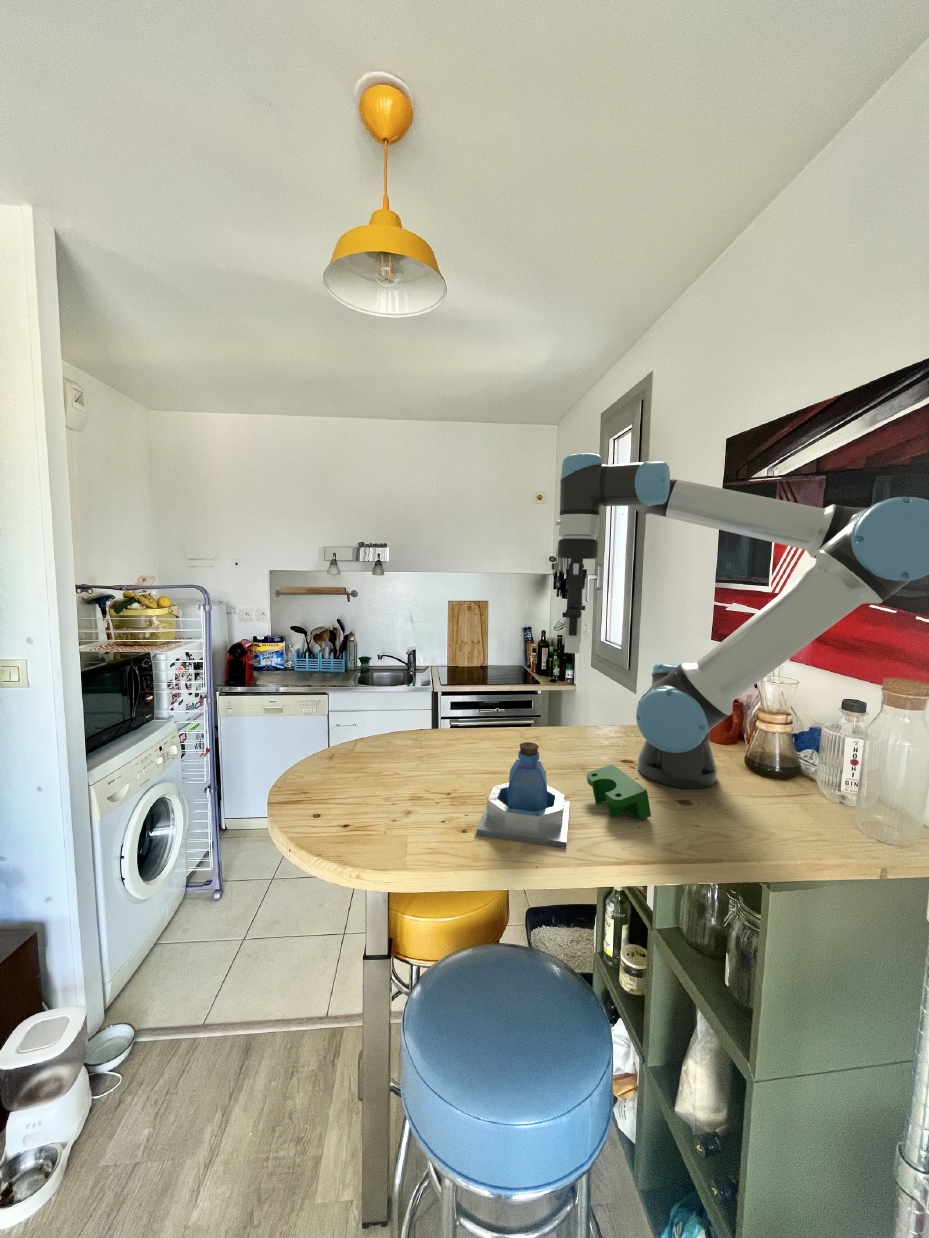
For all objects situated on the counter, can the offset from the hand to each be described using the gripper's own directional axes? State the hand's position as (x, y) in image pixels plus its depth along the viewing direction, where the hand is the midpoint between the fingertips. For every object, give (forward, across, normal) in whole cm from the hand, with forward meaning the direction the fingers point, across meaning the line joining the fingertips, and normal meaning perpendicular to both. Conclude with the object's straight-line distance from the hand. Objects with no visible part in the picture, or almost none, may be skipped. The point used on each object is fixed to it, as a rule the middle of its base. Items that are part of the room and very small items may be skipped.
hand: (573, 647), depth 102 cm
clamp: (+27, +12, +9) cm, 31 cm away
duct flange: (+27, +20, -6) cm, 34 cm away
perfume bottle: (+26, +20, -6) cm, 33 cm away
